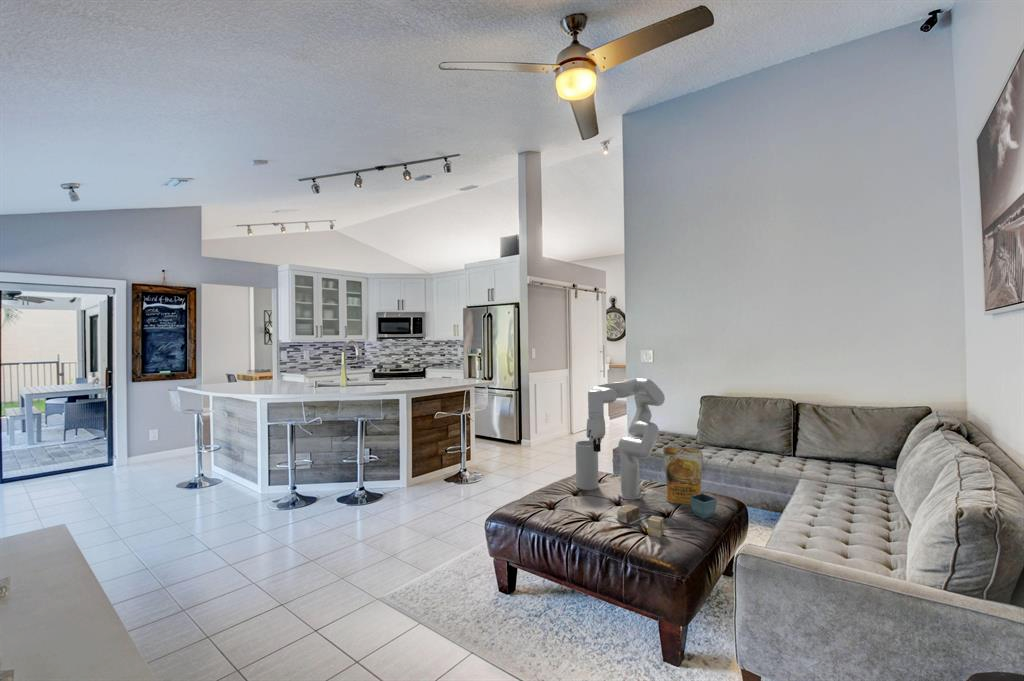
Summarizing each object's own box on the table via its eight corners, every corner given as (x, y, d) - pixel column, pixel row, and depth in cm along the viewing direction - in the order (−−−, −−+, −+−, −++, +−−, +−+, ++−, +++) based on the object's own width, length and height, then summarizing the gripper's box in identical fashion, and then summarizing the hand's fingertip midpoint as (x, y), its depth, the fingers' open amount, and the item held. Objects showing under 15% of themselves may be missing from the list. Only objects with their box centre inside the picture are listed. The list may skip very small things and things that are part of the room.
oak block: (652, 530, 216) (652, 515, 216) (663, 533, 213) (663, 517, 213) (648, 535, 212) (648, 519, 212) (659, 537, 209) (659, 521, 209)
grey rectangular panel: (631, 511, 238) (631, 511, 238) (646, 517, 231) (646, 516, 231) (614, 518, 230) (614, 518, 230) (630, 524, 223) (630, 524, 223)
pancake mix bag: (664, 498, 255) (663, 445, 254) (702, 502, 248) (702, 448, 247) (663, 502, 249) (662, 448, 248) (703, 506, 242) (702, 451, 241)
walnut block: (617, 519, 228) (630, 514, 234) (626, 523, 224) (639, 517, 231) (617, 509, 228) (630, 503, 234) (626, 512, 224) (639, 506, 230)
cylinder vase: (580, 491, 268) (579, 446, 267) (573, 484, 280) (572, 441, 279) (601, 489, 270) (601, 445, 269) (593, 482, 282) (593, 439, 281)
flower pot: (704, 521, 225) (704, 502, 224) (689, 515, 233) (689, 496, 232) (717, 517, 229) (717, 499, 228) (702, 511, 237) (702, 493, 236)
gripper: (599, 411, 248) (600, 446, 249) (580, 416, 238) (581, 453, 239) (611, 413, 242) (612, 449, 243) (592, 418, 232) (593, 456, 233)
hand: (597, 451), depth 241 cm, fingers closed
